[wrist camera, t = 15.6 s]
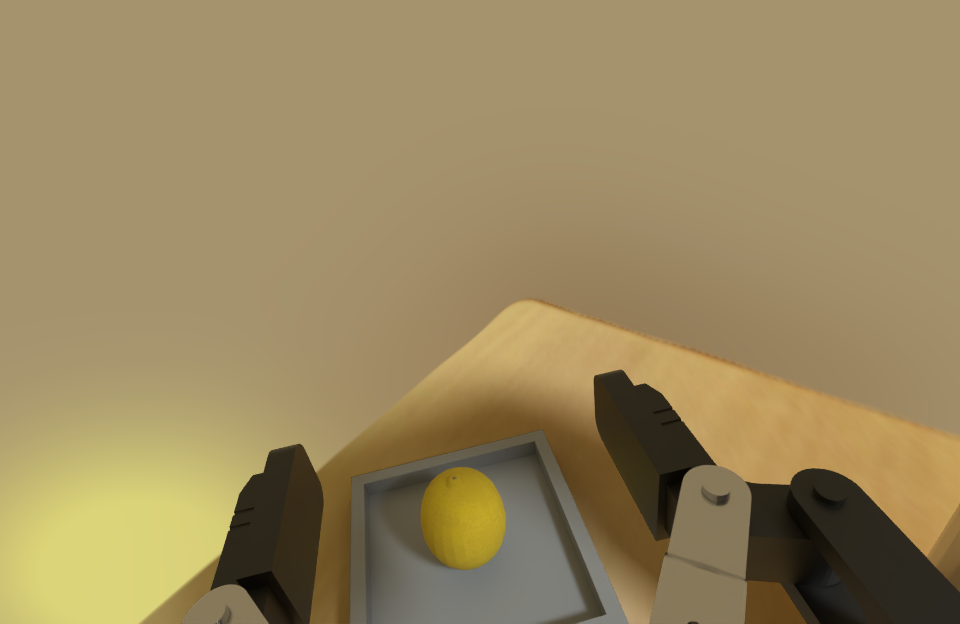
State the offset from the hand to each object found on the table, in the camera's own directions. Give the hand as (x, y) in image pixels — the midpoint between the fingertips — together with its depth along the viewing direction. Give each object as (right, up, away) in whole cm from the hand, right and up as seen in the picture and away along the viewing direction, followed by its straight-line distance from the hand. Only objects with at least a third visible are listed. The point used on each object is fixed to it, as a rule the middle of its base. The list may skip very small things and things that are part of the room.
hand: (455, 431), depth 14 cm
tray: (0, -14, +22) cm, 26 cm away
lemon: (0, -14, +21) cm, 25 cm away
